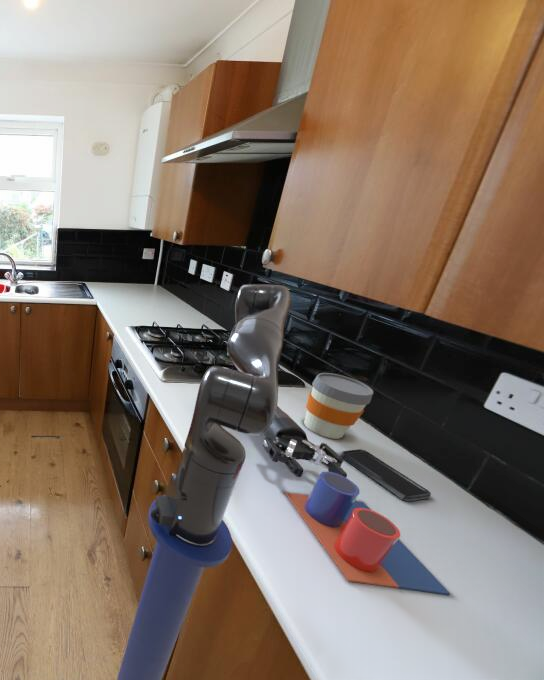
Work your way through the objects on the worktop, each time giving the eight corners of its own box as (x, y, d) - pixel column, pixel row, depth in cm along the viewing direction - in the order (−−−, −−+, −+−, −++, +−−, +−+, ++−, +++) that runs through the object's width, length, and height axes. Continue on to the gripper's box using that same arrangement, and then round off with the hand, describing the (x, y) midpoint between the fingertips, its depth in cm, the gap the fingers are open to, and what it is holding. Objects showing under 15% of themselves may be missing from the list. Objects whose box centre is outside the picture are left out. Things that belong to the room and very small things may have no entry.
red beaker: (349, 570, 61) (371, 535, 58) (326, 538, 67) (344, 505, 63) (387, 575, 61) (411, 540, 57) (360, 542, 66) (380, 509, 63)
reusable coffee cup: (360, 437, 98) (385, 391, 92) (333, 446, 93) (357, 399, 88) (313, 412, 109) (333, 370, 103) (287, 419, 104) (305, 375, 98)
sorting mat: (348, 581, 60) (349, 579, 59) (285, 493, 77) (286, 492, 77) (449, 595, 58) (450, 593, 58) (362, 503, 76) (363, 501, 76)
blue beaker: (316, 525, 69) (333, 493, 66) (297, 500, 75) (312, 469, 72) (349, 529, 69) (368, 497, 66) (328, 503, 75) (344, 473, 71)
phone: (363, 448, 91) (434, 494, 78) (361, 452, 92) (431, 497, 78) (339, 451, 90) (407, 498, 76) (337, 455, 90) (405, 502, 77)
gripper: (254, 413, 87) (293, 458, 72) (314, 419, 86) (366, 466, 71) (245, 437, 90) (280, 485, 75) (303, 444, 89) (350, 494, 74)
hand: (322, 476), depth 73 cm, fingers open, 8 cm apart
